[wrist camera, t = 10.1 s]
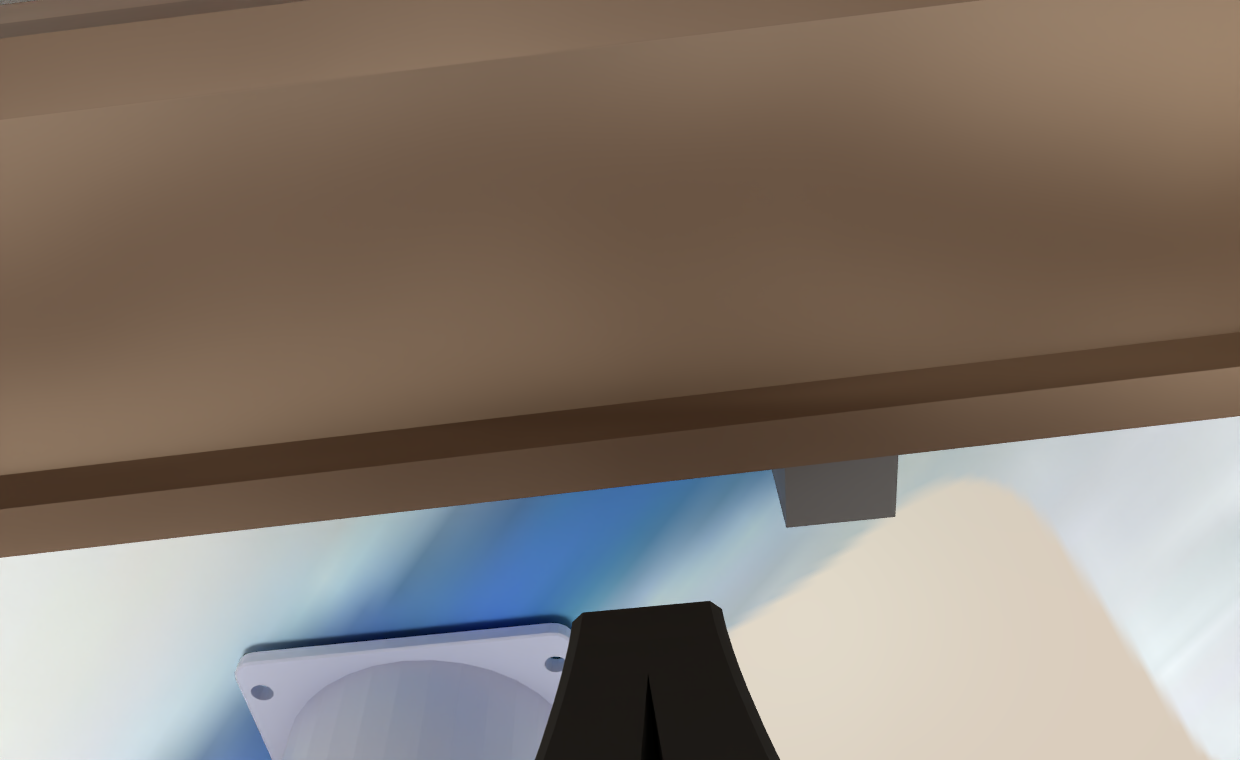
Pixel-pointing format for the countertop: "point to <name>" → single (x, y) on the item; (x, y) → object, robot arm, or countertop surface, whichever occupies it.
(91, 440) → the beam
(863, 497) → the stand
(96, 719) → the countertop surface
